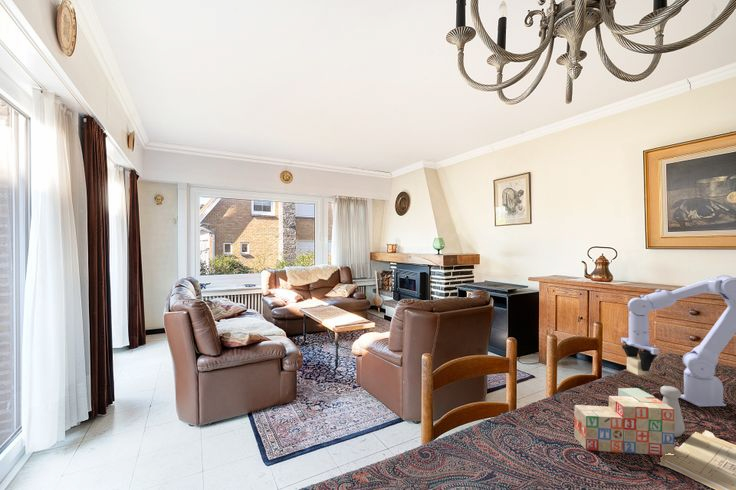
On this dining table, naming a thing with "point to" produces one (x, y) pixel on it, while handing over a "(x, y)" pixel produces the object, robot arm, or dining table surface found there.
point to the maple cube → (636, 366)
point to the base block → (633, 393)
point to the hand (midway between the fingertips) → (639, 367)
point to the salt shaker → (674, 407)
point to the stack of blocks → (626, 426)
